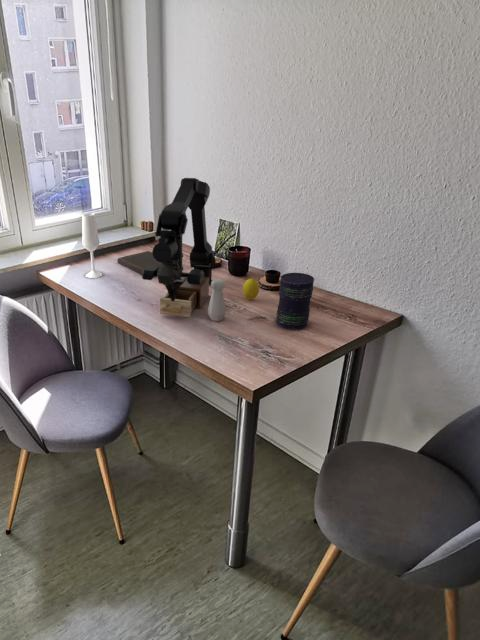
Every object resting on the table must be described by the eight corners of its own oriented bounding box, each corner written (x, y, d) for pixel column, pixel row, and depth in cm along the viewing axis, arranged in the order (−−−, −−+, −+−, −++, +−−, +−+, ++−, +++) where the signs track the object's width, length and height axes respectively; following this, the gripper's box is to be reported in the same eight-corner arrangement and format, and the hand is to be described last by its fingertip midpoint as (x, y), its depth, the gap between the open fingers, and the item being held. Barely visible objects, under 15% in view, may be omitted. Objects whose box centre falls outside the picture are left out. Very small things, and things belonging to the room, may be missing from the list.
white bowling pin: (206, 315, 166) (207, 277, 159) (223, 314, 166) (225, 276, 160) (209, 322, 161) (210, 284, 154) (227, 321, 161) (229, 283, 155)
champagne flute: (105, 273, 205) (100, 213, 192) (95, 278, 200) (89, 217, 187) (92, 271, 208) (86, 211, 195) (82, 276, 203) (75, 215, 190)
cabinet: (200, 308, 171) (200, 288, 167) (167, 304, 175) (167, 285, 171) (208, 296, 180) (209, 277, 177) (177, 292, 184) (177, 274, 180)
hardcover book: (148, 255, 222) (148, 250, 221) (179, 269, 206) (179, 263, 205) (117, 263, 215) (117, 258, 214) (147, 277, 199) (146, 272, 197)
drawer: (186, 322, 160) (186, 307, 157) (155, 318, 163) (155, 303, 160) (198, 305, 171) (199, 290, 169) (170, 301, 175) (169, 287, 172)
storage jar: (302, 332, 153) (308, 286, 145) (271, 326, 157) (275, 280, 149) (311, 320, 160) (318, 275, 152) (281, 314, 164) (286, 270, 156)
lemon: (259, 298, 177) (261, 276, 173) (255, 304, 173) (257, 281, 168) (244, 296, 179) (246, 274, 175) (240, 301, 175) (241, 280, 170)
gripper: (134, 258, 149) (136, 307, 157) (195, 263, 143) (194, 313, 151) (147, 247, 157) (149, 294, 166) (205, 251, 151) (204, 300, 160)
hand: (173, 300), depth 160 cm, fingers closed
